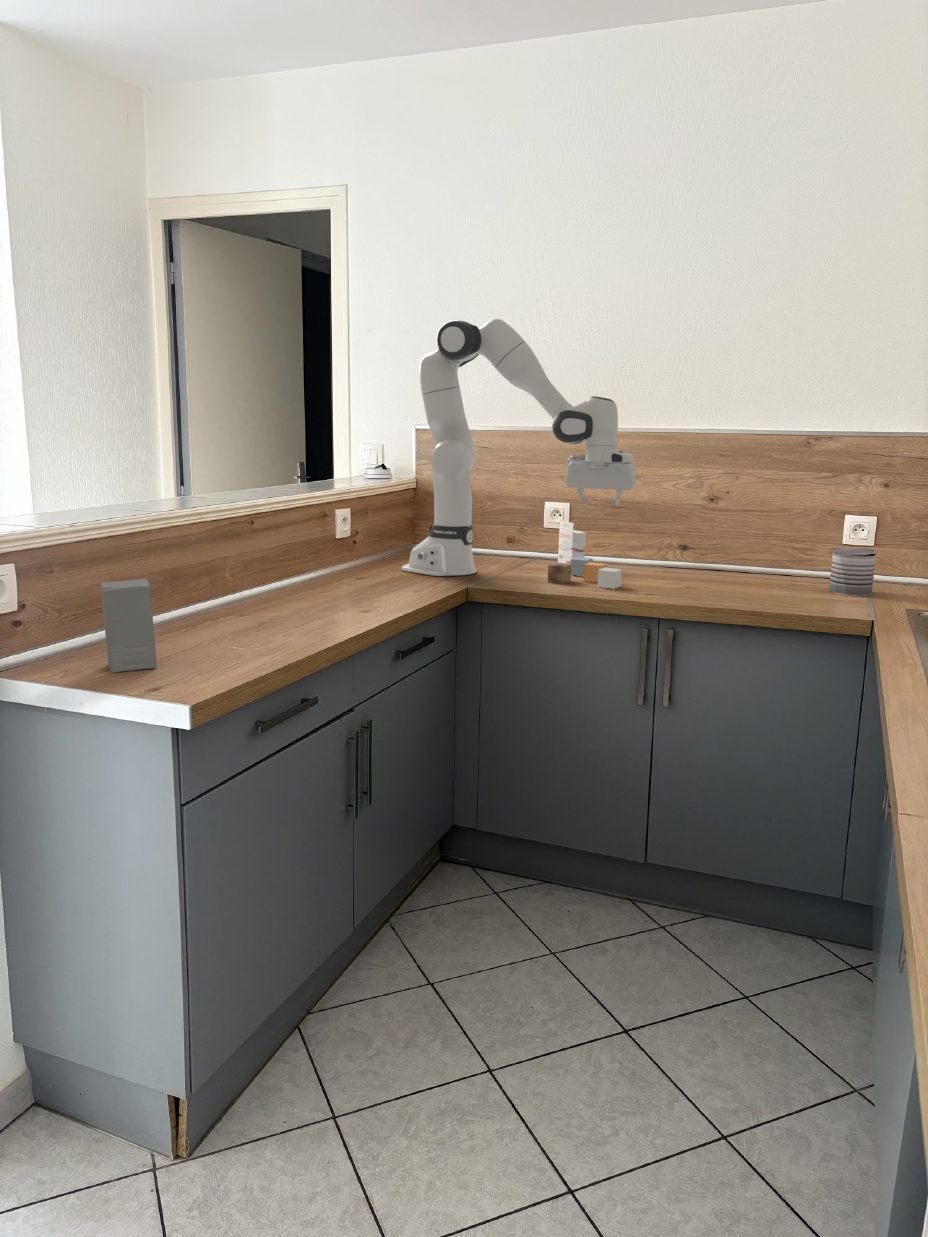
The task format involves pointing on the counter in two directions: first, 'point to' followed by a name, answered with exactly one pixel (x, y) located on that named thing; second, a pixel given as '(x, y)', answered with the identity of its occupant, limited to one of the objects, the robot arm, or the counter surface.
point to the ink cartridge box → (570, 543)
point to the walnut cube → (559, 573)
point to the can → (852, 571)
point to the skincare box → (128, 625)
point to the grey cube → (609, 578)
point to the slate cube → (579, 565)
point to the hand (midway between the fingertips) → (599, 504)
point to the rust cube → (592, 571)
